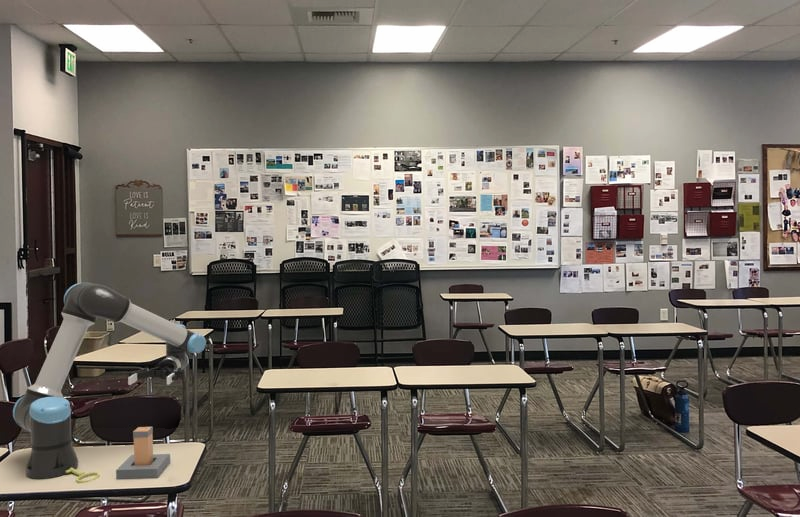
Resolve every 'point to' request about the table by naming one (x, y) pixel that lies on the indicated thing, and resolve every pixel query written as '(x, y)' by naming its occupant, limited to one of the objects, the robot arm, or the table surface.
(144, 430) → the plug
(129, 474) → the socket block
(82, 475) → the key
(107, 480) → the table surface
